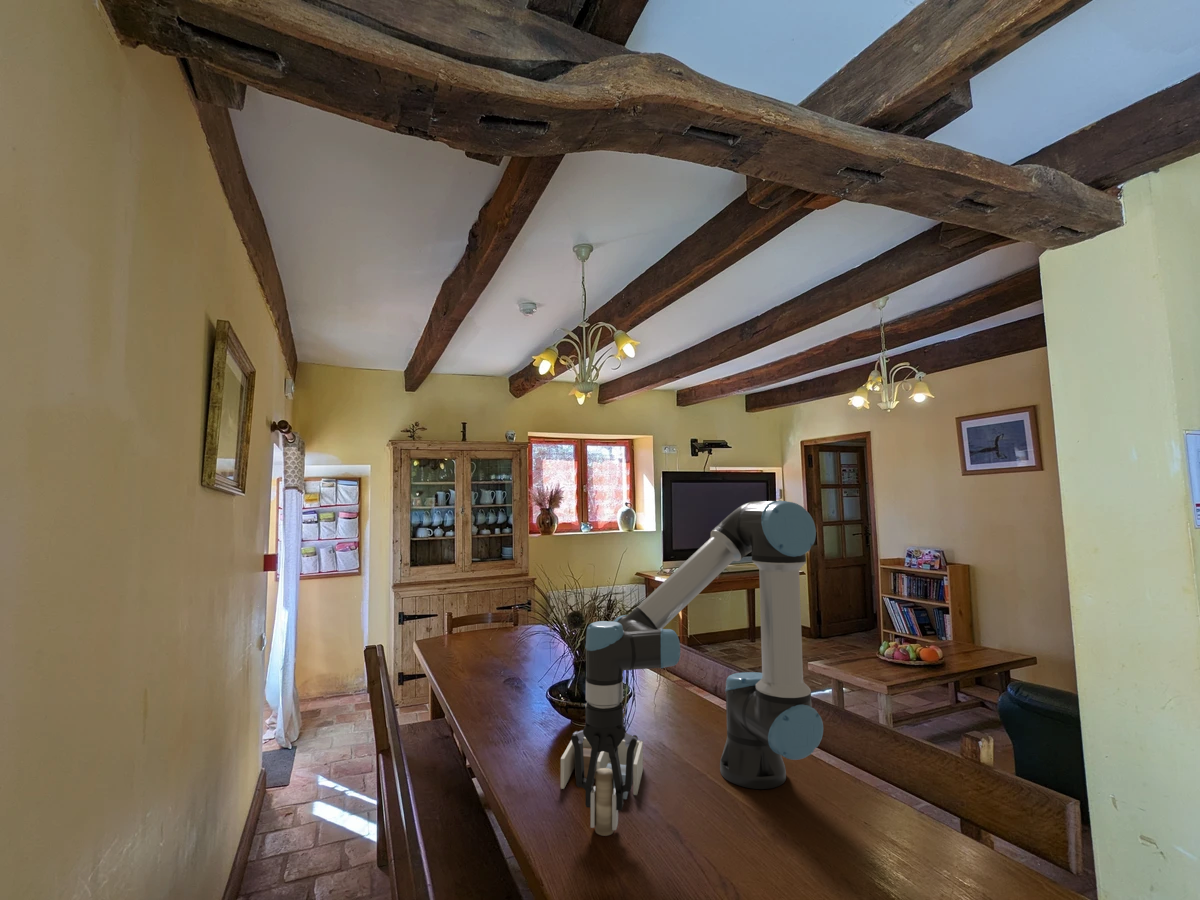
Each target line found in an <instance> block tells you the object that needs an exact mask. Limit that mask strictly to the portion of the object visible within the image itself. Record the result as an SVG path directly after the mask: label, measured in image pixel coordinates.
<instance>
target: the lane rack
mask: <svg viewBox="0 0 1200 900" xmlns="http://www.w3.org/2000/svg"><path fill="white" fill-rule="evenodd" d="M583 747H591V745H590V744H589V742H588V741H587V739H586V737H585V736H584V741H583ZM591 748H592V747H591ZM627 749H628V747H626V745H625V740H624V739H623V740H622V742H621V743H620V744H619V746H618V756H619V761H620V764H621V765H626V757H627ZM608 763H609V764H611V760H610V758H609V753H607V752H604V751H602V752H600V754H599V757H598V760H597V770H598V769H600V768H606V767H607V764H608ZM574 770H575V751H574V746H573V743H572V740H571V739H570V741H569V743H568V745H567V747H566V749H565V750H564V752H563V754H562V755H561V757H560V789H561V790H562V789H563V790H564V789H565V787H566V785H567V783H568V782H569V780H570V777H571V776H572V773H573V772H574ZM643 770H644V740H637V744H636V746H635V749H634V765H633V783H632V789H633V792H632V793H633V796H638V794H639V793H638V792H639V789H640V785H641V780H642V775H643Z"/></svg>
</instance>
